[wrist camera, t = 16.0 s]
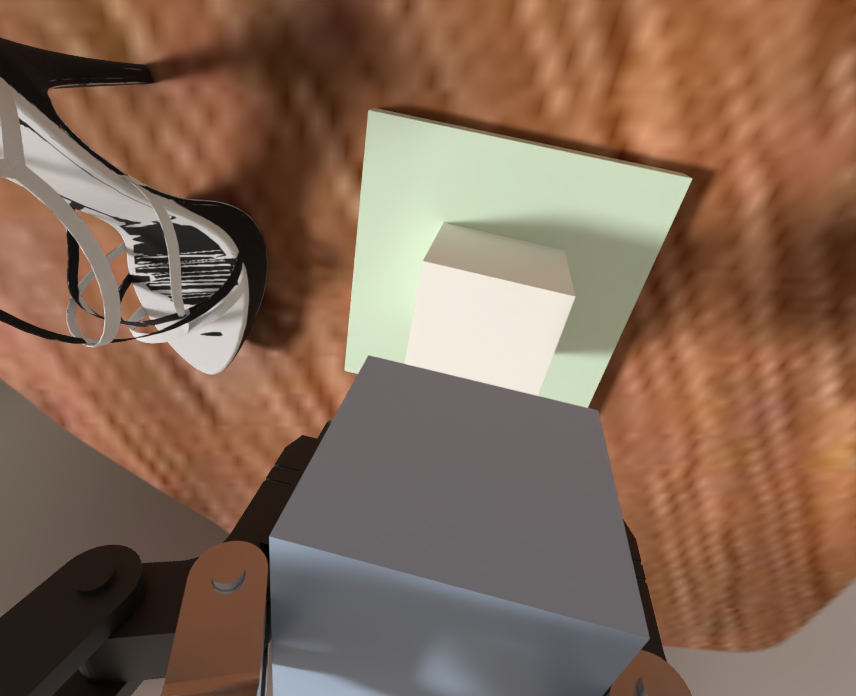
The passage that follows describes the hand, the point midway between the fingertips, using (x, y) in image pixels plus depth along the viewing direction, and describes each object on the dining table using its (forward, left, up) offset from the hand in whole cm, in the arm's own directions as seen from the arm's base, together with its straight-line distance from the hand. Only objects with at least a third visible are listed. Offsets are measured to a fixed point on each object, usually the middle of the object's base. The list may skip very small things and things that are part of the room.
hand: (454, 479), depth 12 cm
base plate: (0, 0, -13) cm, 13 cm away
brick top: (0, 0, -1) cm, 1 cm away
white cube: (0, 0, -12) cm, 12 cm away
